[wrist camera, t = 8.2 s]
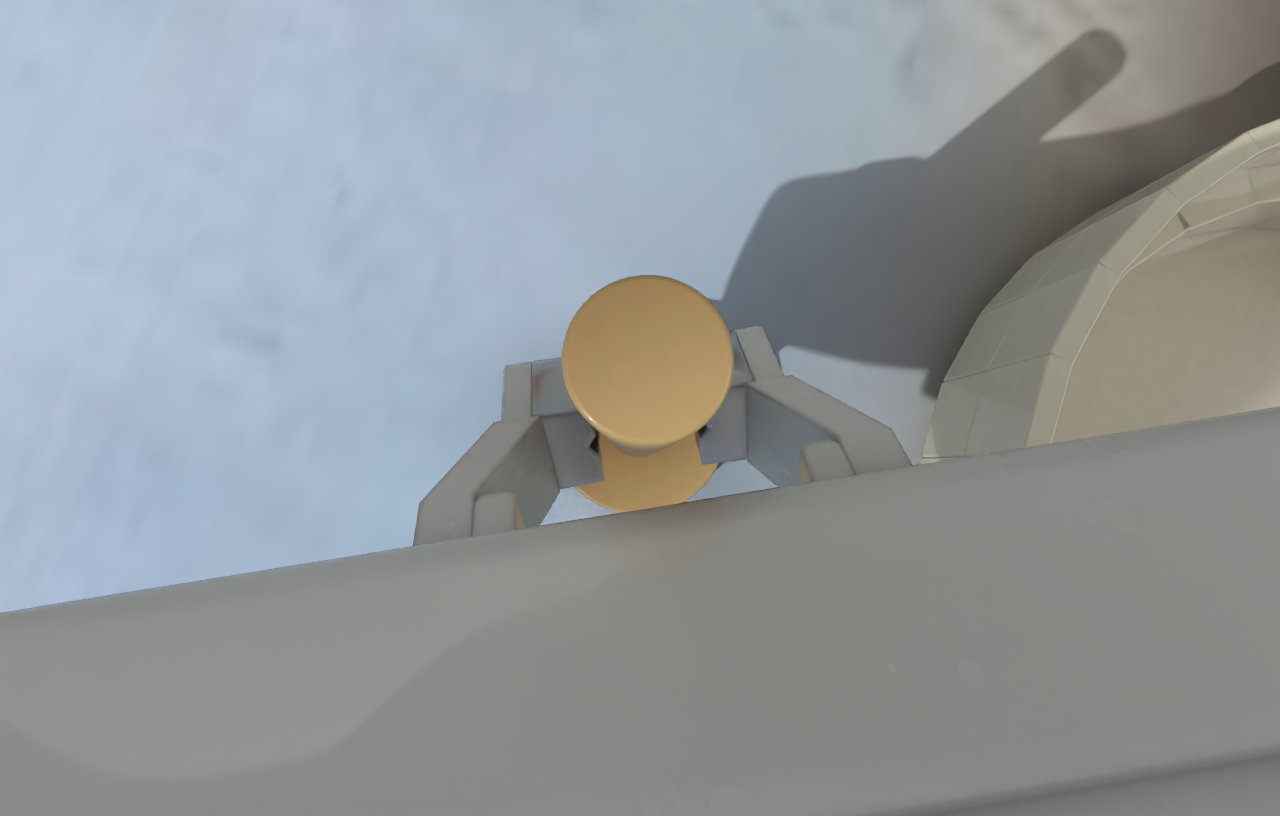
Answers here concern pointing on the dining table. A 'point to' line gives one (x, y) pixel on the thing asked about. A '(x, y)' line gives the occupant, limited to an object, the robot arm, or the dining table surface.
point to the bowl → (1131, 315)
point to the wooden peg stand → (648, 386)
